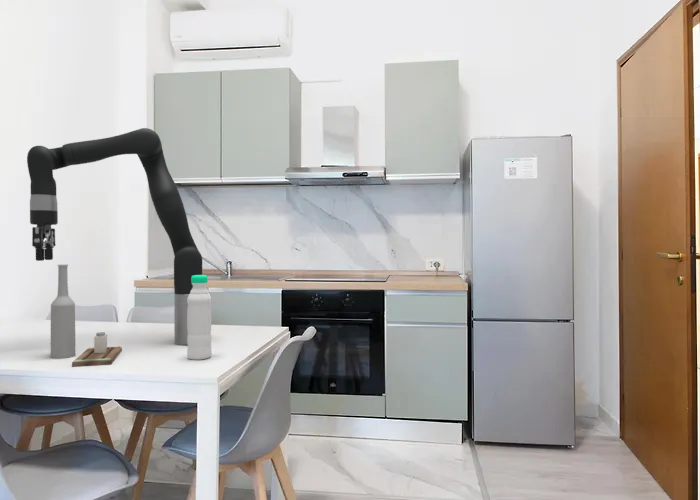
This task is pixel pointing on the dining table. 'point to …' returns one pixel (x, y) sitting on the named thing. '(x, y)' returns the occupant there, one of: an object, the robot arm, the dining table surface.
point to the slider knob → (100, 342)
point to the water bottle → (199, 319)
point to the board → (97, 357)
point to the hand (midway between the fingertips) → (44, 260)
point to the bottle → (62, 319)
